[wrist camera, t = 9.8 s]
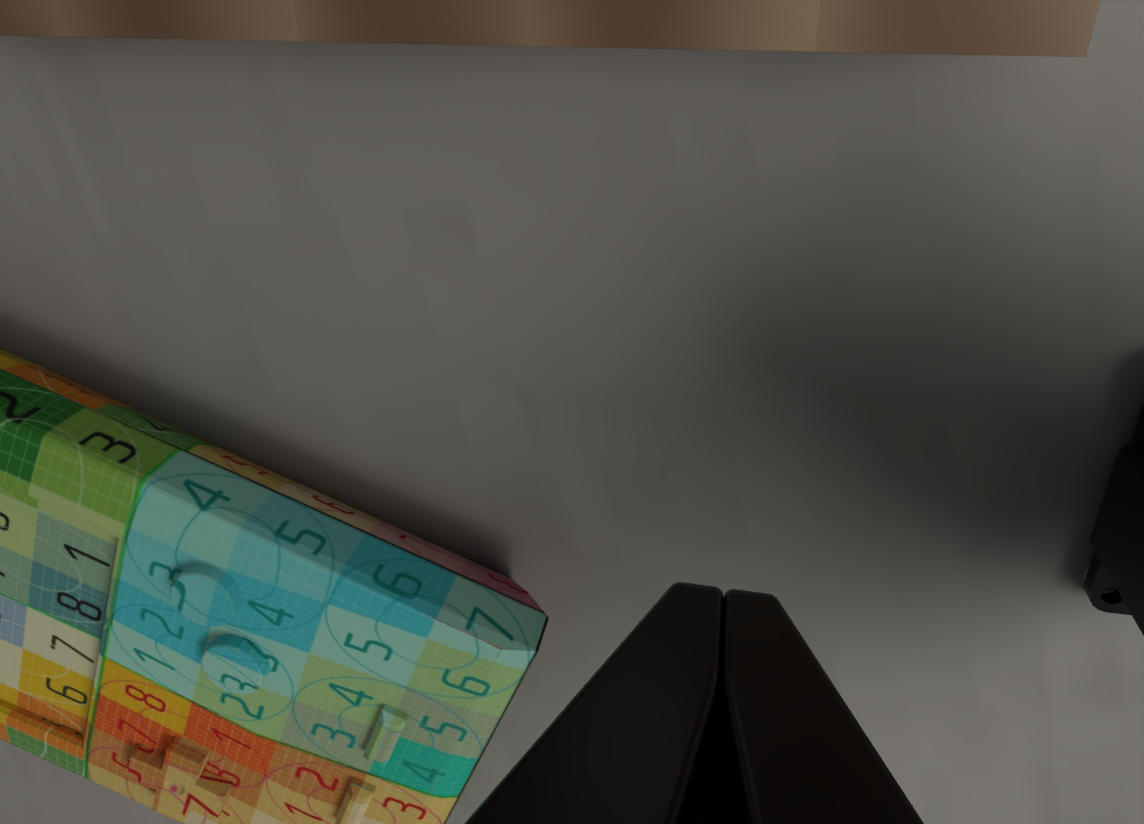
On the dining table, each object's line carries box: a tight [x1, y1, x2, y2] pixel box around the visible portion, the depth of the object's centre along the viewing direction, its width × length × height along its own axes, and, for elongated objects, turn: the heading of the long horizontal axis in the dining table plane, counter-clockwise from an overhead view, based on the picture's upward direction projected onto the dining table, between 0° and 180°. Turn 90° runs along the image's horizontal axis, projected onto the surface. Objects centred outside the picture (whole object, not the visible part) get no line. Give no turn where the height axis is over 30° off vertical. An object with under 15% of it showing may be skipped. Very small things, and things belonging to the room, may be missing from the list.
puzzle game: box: [0, 350, 549, 824], centre depth 25 cm, size 12×5×20 cm
